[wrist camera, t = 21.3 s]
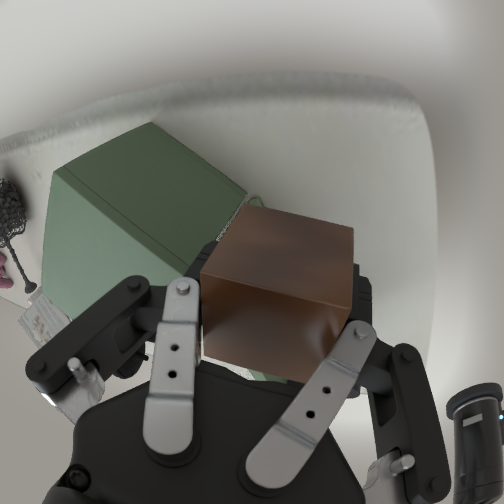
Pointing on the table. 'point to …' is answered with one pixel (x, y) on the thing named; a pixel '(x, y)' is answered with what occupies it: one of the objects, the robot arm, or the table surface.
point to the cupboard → (130, 216)
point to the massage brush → (3, 215)
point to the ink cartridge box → (43, 318)
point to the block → (277, 292)
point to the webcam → (133, 361)
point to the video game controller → (3, 282)
